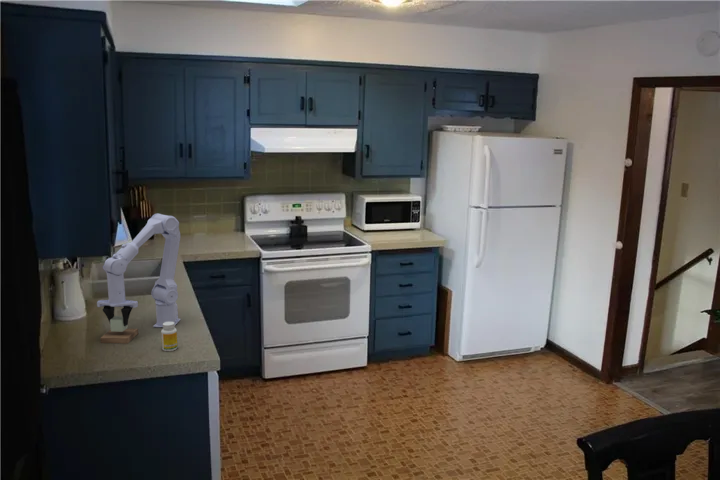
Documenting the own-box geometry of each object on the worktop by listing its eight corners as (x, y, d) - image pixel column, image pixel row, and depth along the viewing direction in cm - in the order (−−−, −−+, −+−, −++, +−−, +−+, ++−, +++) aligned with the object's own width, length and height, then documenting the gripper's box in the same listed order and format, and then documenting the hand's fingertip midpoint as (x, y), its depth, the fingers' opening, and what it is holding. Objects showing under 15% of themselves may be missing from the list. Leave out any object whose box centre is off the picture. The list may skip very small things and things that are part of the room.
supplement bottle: (159, 348, 223) (157, 323, 221) (172, 344, 227) (171, 319, 225) (167, 352, 219) (165, 326, 218) (180, 348, 223) (179, 323, 221)
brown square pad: (112, 334, 238) (112, 328, 237) (138, 335, 238) (138, 328, 237) (101, 344, 228) (100, 337, 228) (128, 344, 228) (127, 338, 227)
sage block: (116, 327, 234) (115, 315, 233) (127, 327, 234) (126, 316, 233) (110, 331, 230) (109, 319, 229) (122, 331, 230) (122, 320, 229)
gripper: (92, 292, 225) (95, 328, 228) (131, 293, 225) (134, 329, 228) (100, 287, 232) (103, 322, 235) (139, 288, 232) (141, 322, 234)
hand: (119, 325), depth 232 cm, fingers closed on sage block, 4 cm apart
